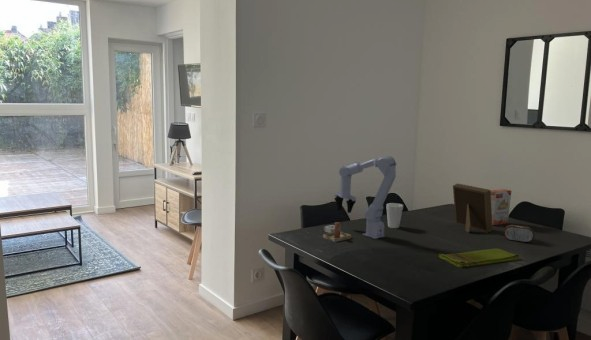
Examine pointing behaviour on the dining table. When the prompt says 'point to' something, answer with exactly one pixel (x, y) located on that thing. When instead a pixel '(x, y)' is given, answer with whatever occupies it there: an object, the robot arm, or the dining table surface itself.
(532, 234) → the tin
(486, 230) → the photo frame
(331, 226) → the gray square open box
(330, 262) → the dining table surface
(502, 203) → the cracker box
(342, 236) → the tray
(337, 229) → the pin
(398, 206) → the foam cup
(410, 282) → the dining table surface
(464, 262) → the dish towel
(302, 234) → the dining table surface
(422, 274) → the dining table surface
